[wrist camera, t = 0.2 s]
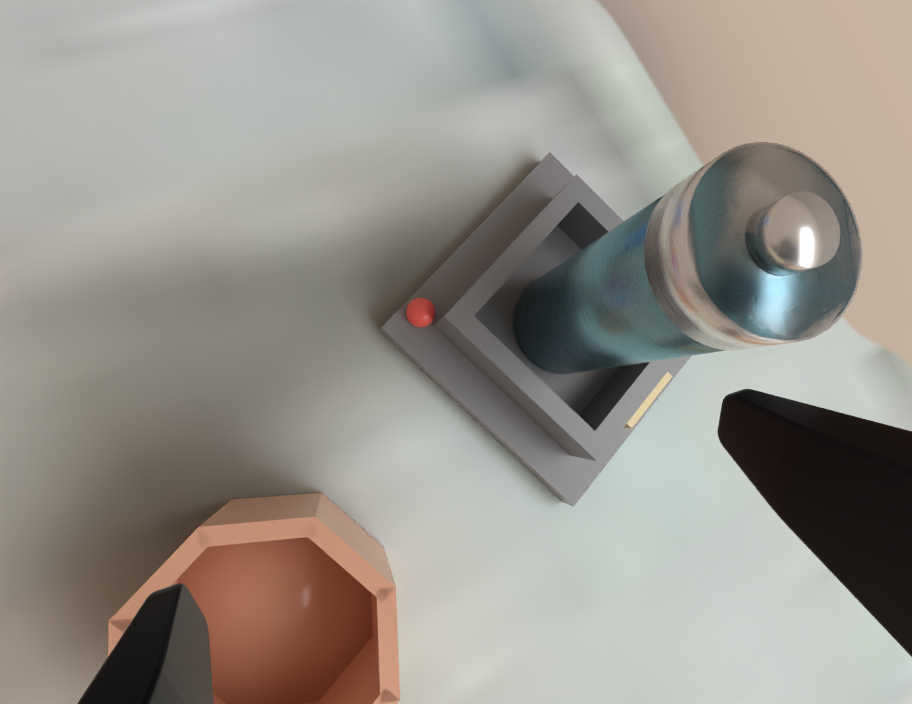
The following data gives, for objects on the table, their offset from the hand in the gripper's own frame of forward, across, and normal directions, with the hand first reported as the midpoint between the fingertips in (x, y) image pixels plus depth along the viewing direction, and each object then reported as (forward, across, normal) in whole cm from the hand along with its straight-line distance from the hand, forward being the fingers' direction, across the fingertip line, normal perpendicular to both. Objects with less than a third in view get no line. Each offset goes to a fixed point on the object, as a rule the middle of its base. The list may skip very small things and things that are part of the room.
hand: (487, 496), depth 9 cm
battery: (+13, -8, +5) cm, 16 cm away
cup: (+9, +6, +12) cm, 16 cm away
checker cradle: (+14, -8, +6) cm, 17 cm away
